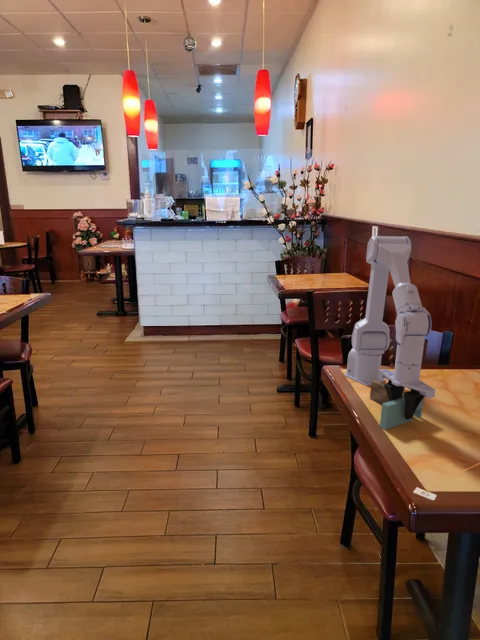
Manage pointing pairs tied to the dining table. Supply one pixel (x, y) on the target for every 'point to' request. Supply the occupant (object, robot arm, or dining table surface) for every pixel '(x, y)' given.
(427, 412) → the dining table surface
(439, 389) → the dining table surface
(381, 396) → the walnut slotted plate
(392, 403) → the teal slotted plate
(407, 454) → the dining table surface
